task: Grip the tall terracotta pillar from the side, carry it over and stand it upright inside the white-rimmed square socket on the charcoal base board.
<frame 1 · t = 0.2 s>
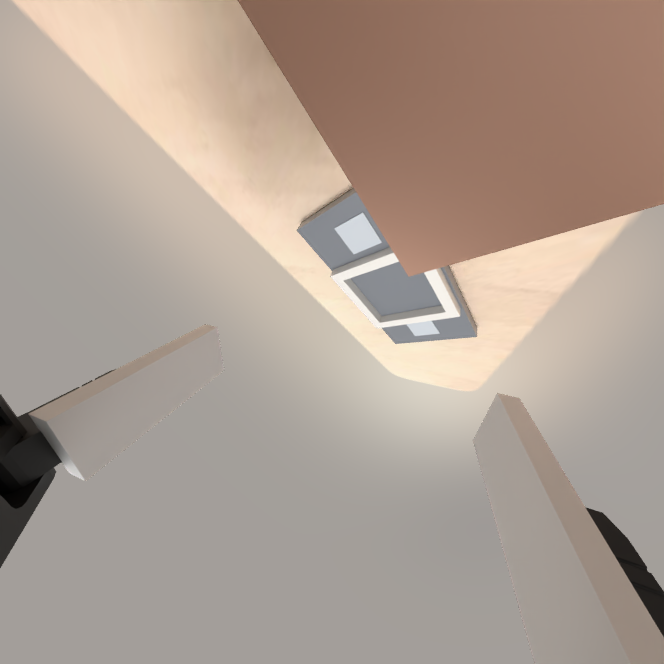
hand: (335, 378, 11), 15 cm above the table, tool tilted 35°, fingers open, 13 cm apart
base board: (397, 280, 25), on the table
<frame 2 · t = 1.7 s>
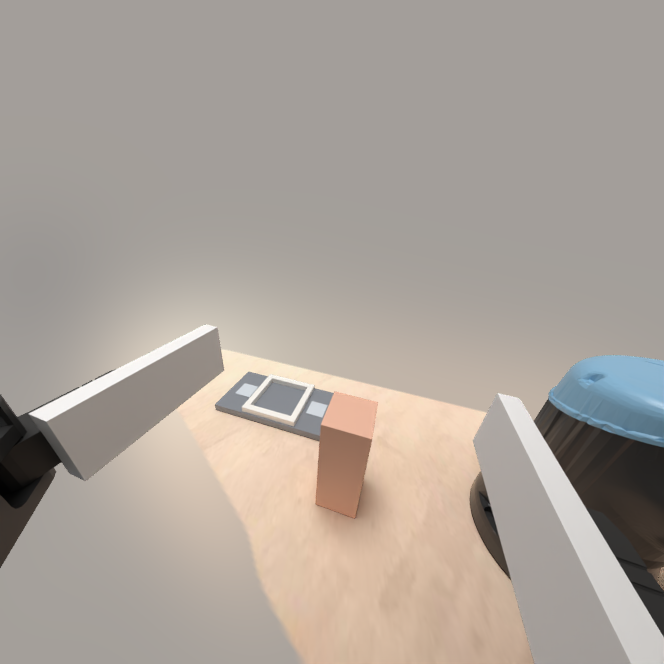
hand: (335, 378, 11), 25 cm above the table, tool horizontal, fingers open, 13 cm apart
terracotta pillar: (339, 490, 31), on the table
base board: (281, 404, 43), on the table
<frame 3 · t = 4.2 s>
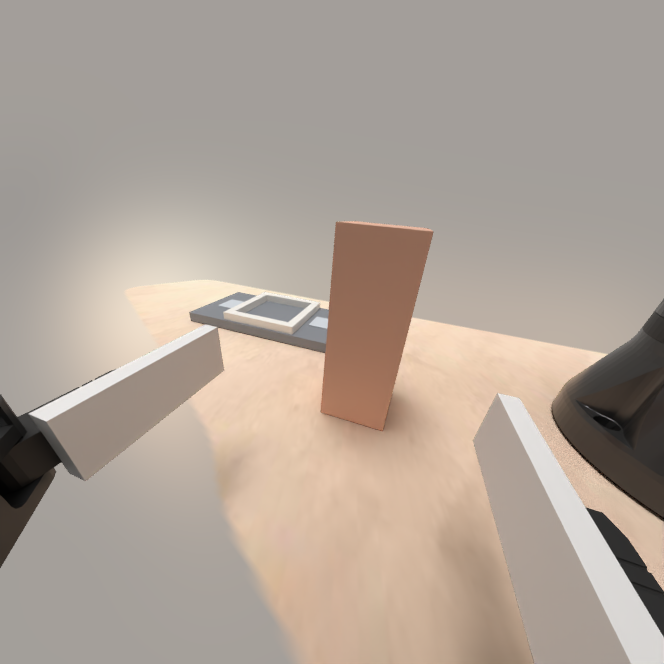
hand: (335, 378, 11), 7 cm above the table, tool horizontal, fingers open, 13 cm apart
terracotta pillar: (357, 400, 21), on the table
base board: (276, 321, 33), on the table
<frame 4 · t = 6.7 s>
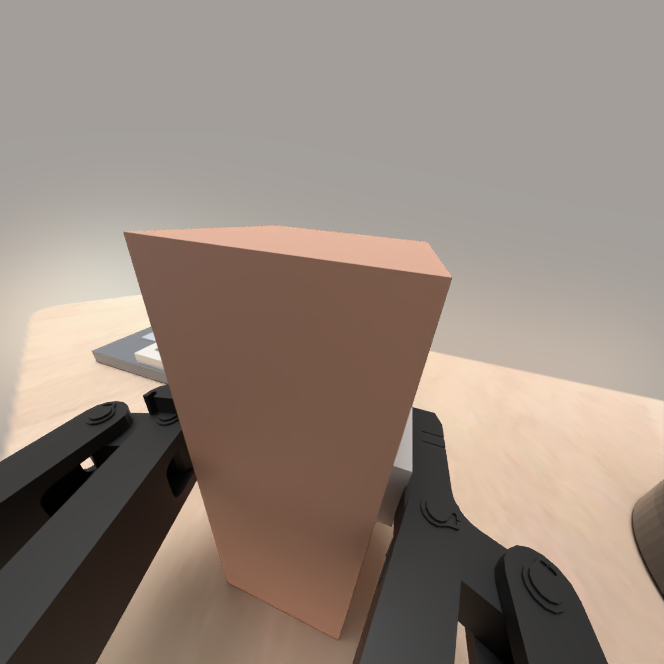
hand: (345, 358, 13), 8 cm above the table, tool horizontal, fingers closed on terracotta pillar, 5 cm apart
terracotta pillar: (303, 537, 12), on the table, touching gripper
base board: (221, 358, 25), on the table
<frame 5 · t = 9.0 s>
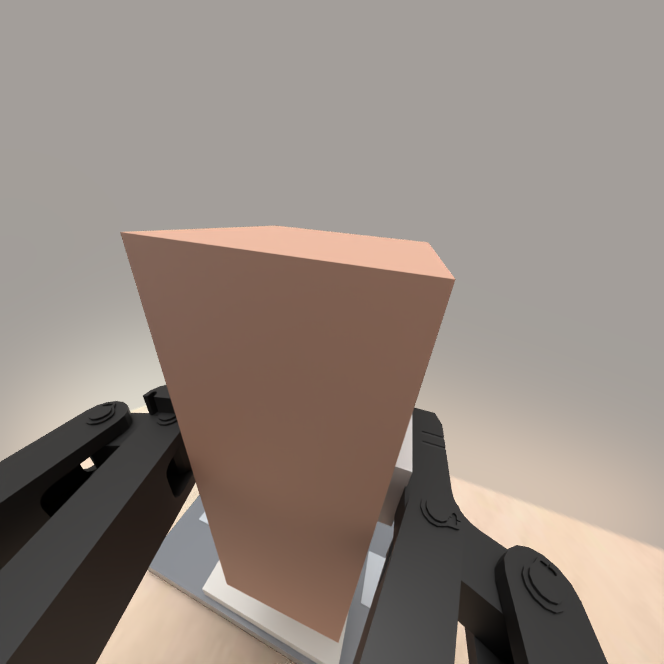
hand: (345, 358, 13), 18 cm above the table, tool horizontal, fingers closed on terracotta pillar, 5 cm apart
terracotta pillar: (303, 539, 12), point 11 cm above the table, touching gripper
base board: (298, 550, 19), on the table
when the fingers open (10 cm above the table, at t = 11.3 s): terracotta pillar drops 2 cm, resting on base board.
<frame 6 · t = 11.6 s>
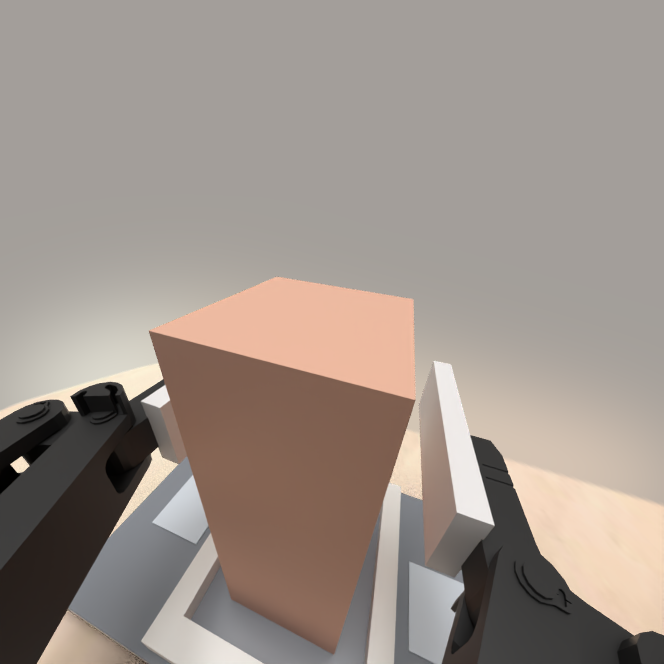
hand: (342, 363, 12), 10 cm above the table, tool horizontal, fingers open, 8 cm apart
terracotta pillar: (302, 555, 12), point 1 cm above the table, touching base board
base board: (302, 563, 13), on the table
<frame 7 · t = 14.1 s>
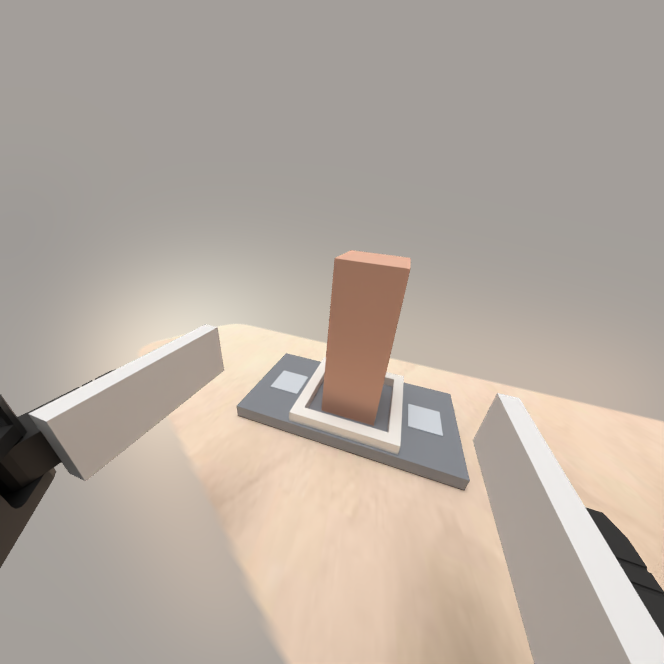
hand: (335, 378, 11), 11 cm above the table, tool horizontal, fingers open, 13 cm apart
terracotta pillar: (352, 400, 24), point 1 cm above the table, touching base board
base board: (351, 408, 24), on the table
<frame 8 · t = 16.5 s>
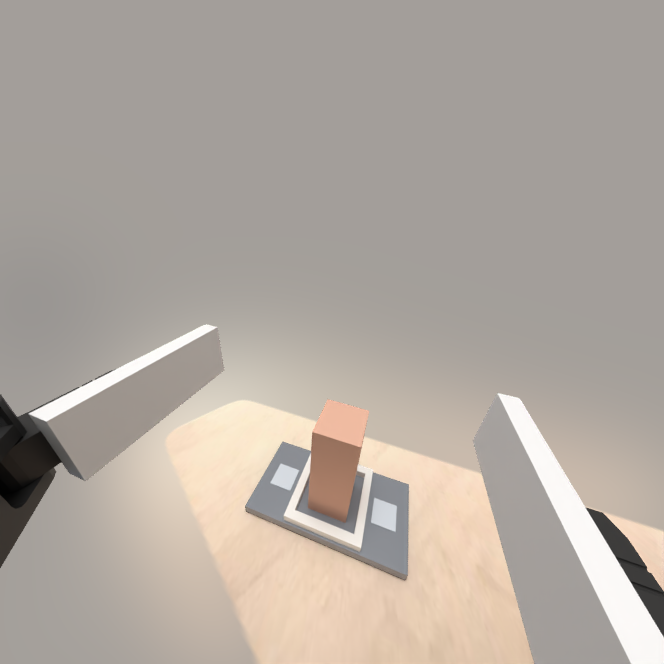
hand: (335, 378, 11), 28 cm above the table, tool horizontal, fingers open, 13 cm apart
terracotta pillar: (332, 495, 32), point 1 cm above the table, touching base board
base board: (331, 499, 32), on the table
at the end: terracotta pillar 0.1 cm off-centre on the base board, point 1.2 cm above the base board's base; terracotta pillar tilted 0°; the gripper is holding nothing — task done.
